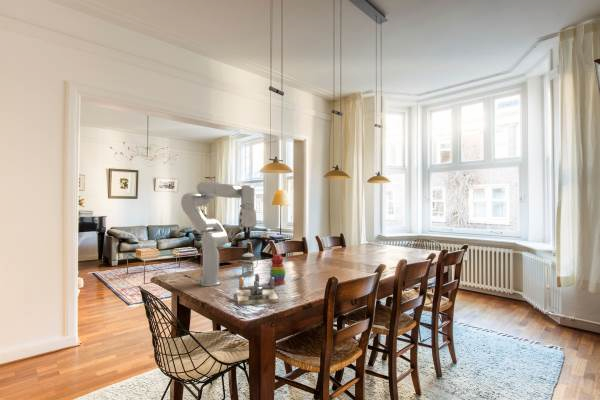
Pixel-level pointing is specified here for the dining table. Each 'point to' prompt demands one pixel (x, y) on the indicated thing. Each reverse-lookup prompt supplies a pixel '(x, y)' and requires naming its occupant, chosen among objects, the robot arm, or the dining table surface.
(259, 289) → the capstan
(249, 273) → the french press
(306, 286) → the dining table surface
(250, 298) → the stand
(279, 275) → the stacking bear
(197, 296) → the dining table surface
